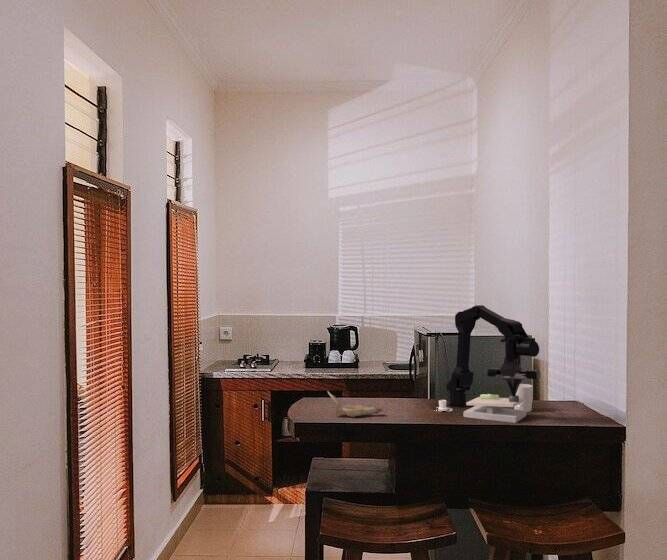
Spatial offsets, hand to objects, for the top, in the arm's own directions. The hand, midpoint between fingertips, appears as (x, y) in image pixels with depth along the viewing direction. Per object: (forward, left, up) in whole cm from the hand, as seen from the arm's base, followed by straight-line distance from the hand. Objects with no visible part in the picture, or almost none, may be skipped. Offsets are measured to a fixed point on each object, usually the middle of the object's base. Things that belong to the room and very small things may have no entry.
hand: (514, 396), depth 233 cm
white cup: (-1, +16, -9) cm, 18 cm away
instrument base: (-7, 0, -8) cm, 11 cm away
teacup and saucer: (-32, 0, -9) cm, 33 cm away
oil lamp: (-54, -26, -9) cm, 61 cm away
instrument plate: (-7, 0, -3) cm, 8 cm away
